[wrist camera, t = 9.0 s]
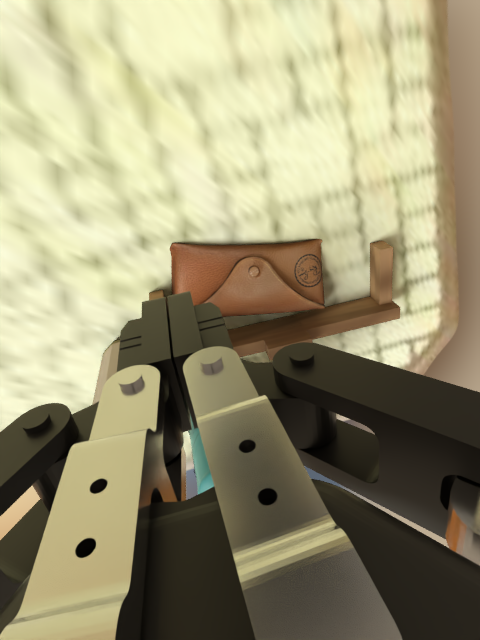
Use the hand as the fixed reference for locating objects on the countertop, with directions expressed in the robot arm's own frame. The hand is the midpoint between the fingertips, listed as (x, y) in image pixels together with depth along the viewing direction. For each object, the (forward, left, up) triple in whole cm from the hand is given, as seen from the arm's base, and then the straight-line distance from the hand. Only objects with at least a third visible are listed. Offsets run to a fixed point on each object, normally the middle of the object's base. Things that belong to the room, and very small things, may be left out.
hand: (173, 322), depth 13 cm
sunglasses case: (+13, +7, -33) cm, 36 cm away
